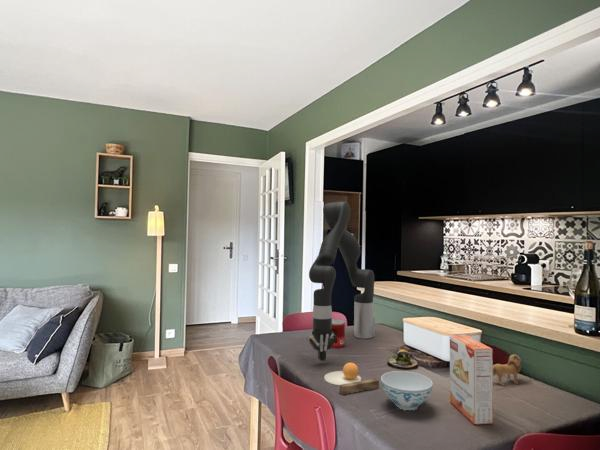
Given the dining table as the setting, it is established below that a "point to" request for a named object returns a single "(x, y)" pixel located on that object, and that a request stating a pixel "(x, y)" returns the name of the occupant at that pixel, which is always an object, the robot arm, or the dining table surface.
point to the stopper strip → (358, 386)
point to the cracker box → (471, 378)
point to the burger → (402, 360)
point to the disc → (339, 378)
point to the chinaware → (406, 388)
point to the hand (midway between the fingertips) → (322, 360)
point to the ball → (350, 370)
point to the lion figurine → (508, 369)
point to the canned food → (338, 333)
